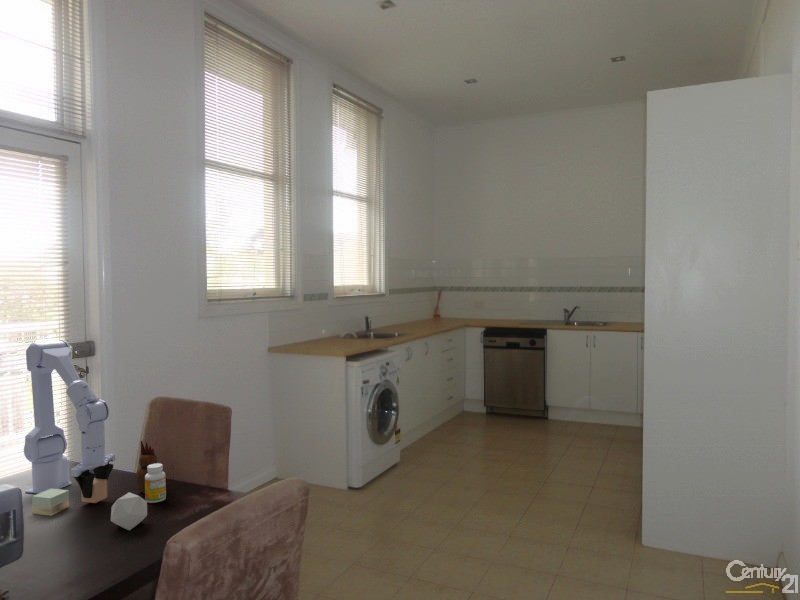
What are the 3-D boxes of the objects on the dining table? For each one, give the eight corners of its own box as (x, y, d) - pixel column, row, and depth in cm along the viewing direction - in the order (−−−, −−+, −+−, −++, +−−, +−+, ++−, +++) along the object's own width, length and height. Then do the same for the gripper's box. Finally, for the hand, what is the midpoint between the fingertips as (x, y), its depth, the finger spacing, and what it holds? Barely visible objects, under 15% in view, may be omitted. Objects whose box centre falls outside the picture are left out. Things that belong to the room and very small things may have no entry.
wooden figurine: (132, 493, 171) (130, 442, 171) (147, 487, 177) (146, 437, 176) (150, 496, 169) (149, 444, 168) (165, 489, 174) (164, 439, 174)
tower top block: (51, 497, 163) (51, 488, 163) (69, 499, 161) (68, 490, 161) (32, 505, 157) (32, 496, 157) (50, 507, 155) (50, 498, 155)
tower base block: (50, 506, 163) (50, 497, 163) (69, 508, 162) (68, 499, 161) (32, 515, 157) (32, 505, 157) (51, 516, 156) (51, 507, 156)
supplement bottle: (146, 497, 168) (145, 463, 168) (166, 495, 170) (165, 461, 169) (144, 504, 163) (143, 469, 163) (165, 501, 165) (164, 467, 164)
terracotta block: (93, 495, 167) (93, 478, 167) (107, 497, 166) (106, 479, 166) (81, 501, 163) (81, 483, 162) (95, 503, 161) (94, 484, 161)
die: (155, 527, 149) (154, 490, 154) (132, 522, 142) (131, 483, 147) (126, 537, 150) (126, 500, 155) (102, 533, 143) (103, 494, 148)
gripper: (85, 454, 156) (86, 505, 156) (123, 439, 170) (124, 486, 170) (63, 452, 157) (64, 502, 158) (102, 438, 171) (104, 484, 172)
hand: (94, 494), depth 164 cm, fingers closed on terracotta block, 4 cm apart
